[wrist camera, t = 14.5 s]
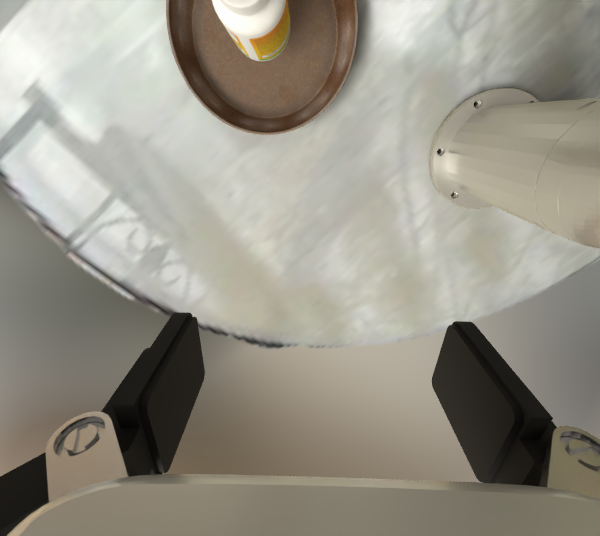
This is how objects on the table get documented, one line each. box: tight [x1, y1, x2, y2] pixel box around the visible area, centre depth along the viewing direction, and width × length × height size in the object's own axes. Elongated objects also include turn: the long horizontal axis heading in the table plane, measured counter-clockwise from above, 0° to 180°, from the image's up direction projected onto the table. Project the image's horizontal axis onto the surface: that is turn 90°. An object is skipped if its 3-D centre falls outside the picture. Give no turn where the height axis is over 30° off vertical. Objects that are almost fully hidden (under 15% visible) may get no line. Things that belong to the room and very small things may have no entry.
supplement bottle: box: [212, 0, 290, 61], centre depth 23 cm, size 5×5×10 cm
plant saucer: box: [166, 0, 358, 135], centre depth 29 cm, size 18×18×3 cm
